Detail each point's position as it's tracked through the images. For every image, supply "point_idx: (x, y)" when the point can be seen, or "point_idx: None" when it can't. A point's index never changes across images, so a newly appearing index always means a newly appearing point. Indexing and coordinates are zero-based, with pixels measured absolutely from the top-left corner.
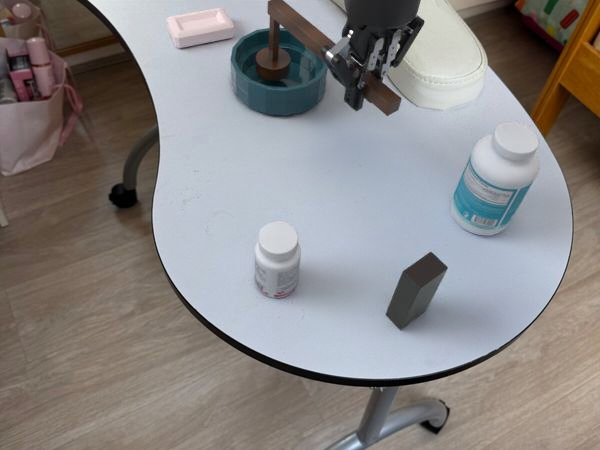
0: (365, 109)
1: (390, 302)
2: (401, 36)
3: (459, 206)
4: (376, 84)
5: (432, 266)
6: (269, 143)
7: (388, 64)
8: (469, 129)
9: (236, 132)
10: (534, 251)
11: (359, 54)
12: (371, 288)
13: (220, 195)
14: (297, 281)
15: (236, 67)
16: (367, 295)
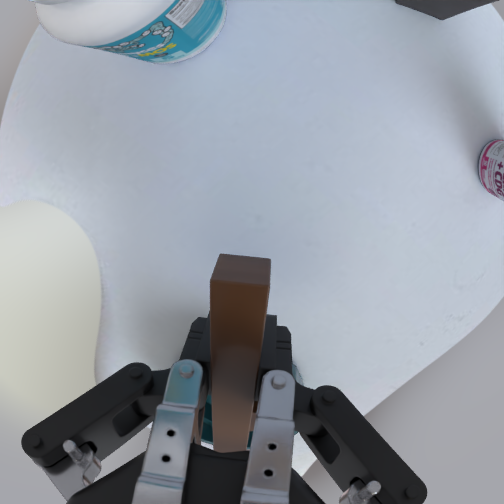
0: (162, 291)
1: (461, 12)
2: (97, 438)
3: (216, 18)
4: (233, 358)
5: None
6: (330, 330)
7: (171, 392)
8: (57, 162)
9: (343, 362)
10: None
11: (315, 495)
12: (430, 53)
13: (437, 304)
14: (493, 142)
15: (294, 432)
16: (441, 52)
